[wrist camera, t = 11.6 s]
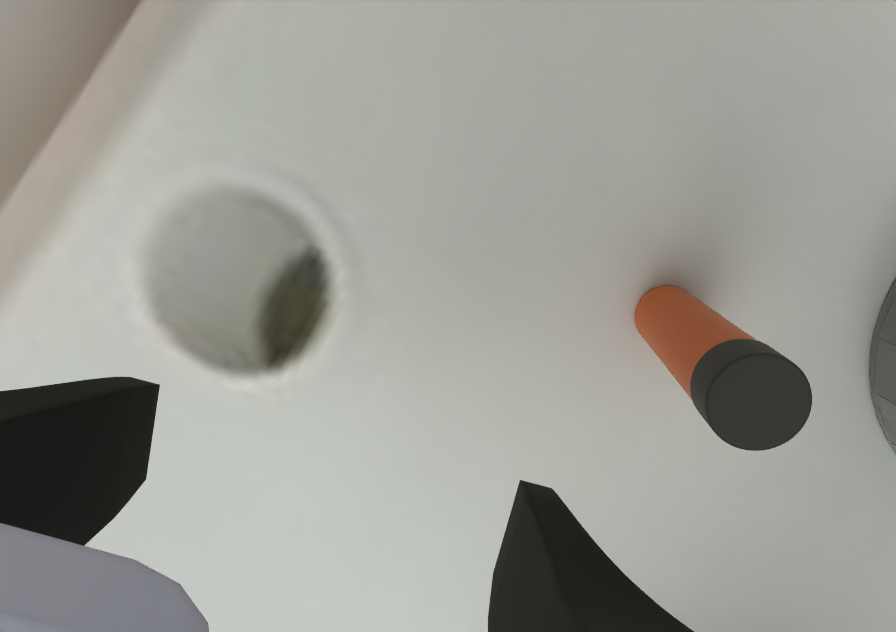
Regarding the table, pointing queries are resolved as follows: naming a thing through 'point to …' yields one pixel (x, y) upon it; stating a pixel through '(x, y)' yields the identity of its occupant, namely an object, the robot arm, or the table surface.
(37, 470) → the robot arm
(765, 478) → the table surface
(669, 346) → the marker
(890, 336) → the pot
